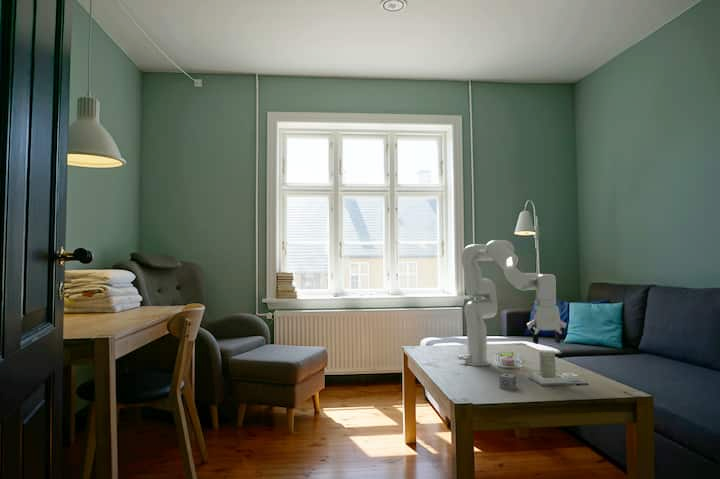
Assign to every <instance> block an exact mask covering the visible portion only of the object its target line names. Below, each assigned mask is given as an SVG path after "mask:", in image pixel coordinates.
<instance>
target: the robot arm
mask: <svg viewBox="0 0 720 479" xmlns="http://www.w3.org/2000/svg"><path fill="white" fill-rule="evenodd" d="M460 260H461V265H462V268H463V274H464V275H463V276H464V284H465V285H464V287H465V292H466V295H467V296H468V297H469V298H481V299H477V300H476V299H475V300H469V301H468V302H467V303H466V304H465V305H464V314H465V315H464V316H465V320H466V334H467V335H466V336H467V337H466V338H467V339H466V340H467V353H465V354H464V355H457V358H458V361H459V360H462V361H464V364H466V365H469V366H473V367H474V366H476V367H477V366H478V367H479V366H480V367H483V366H489V365H491V361H490V360H489V359H488V344H487V342H488V341H487V334H488V333H487V325H486V323H485V321H484V319H491V318H494V317H495V316H496V315H497V313H498V300H497V298H498V297H497V291H496V290H497V289H496V285H495V283H494V281H492V280H491V279H489V278H485V277H484V278H483V277H482V269H481V268H480V265H479V263H477V262H491V261H494V262H495V263H496V264H498V266H500V267H501V268H502V269H503V273H504V277H505V279H506V280H507V281H508V282H509V283H510V284H511V285H512V286H513V287H514V288H515V289H518V290H520V291H536V300H534V301H533V303H534V304H535V305H536V306H535V309H534V311H533V312H534V315H533V319H532V320H531V321H529V322H526V326H527V328H528V330H529V332H530V333H531V334H532V341H533V343H534V344H536V345H537V344H539V334H538V333H539V332H540V331H555V333H554V343H557V344H561V341H562V338H561V337H562V336H561V335H562V334H563V333H564V331H565V329H566V327H567V325H568V324H567V322H565V321H563V320H561V316H560V314H561V313H560V310H559V306H557V288H556V286H557V281H556V280H557V279H556V276H555V275H554V274H552V273H539V272H522V271H521V270H519V269H518V268H517V267H516V266H517V265H518V262H519V257H518V255H517V254H515V247H514V245H513V243H512V242H510V241H509V240H505V239H504V240H501V239H496V240H495V239H494V240H490V241H489V242H487V243H486V244H485V243H483V244H481V243H477V244H475V243H474V244H473V243H472V244H469V245H467V246H465V247H464V248H463V250H462V253H461V259H460ZM532 325H533V326H532Z"/></svg>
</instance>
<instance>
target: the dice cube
mask: <svg viewBox="0 0 720 479" xmlns="http://www.w3.org/2000/svg"><path fill="white" fill-rule="evenodd" d="M501 388H503V389H502V390H507V389H510V390H509V391H513V390H515V389H517V375H516V374H509V373H503V374H501V375H499V389H501ZM514 388H515V389H514Z"/></svg>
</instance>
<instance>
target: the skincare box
mask: <svg viewBox="0 0 720 479" xmlns="http://www.w3.org/2000/svg"><path fill="white" fill-rule="evenodd" d="M538 354H539V355H538V356H539V370H540V371H539V373H540V376H541V377H543V378H556V374H557V369H556V352H555V350H545V349H544V350H543V349H541V350H539V353H538Z"/></svg>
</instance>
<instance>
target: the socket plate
mask: <svg viewBox="0 0 720 479" xmlns="http://www.w3.org/2000/svg"><path fill="white" fill-rule="evenodd" d="M528 379H529V380H530V381H532V382H534V383H535V382H536V383H535V384H537V385H539V386H541V387H548V386H547V385H565V386H575V385H574V384H588V385H589V381H588V382H587V381H586V380H583V379H581V378H579V375H578V374H575V373H572V372H571V373H570V372H567V373H566V372H565V373H563V372H562V373H561V375H560V374H558V373H556V378H543V377H541V376H540V372H533V373H532V376H529V377H528Z"/></svg>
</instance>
